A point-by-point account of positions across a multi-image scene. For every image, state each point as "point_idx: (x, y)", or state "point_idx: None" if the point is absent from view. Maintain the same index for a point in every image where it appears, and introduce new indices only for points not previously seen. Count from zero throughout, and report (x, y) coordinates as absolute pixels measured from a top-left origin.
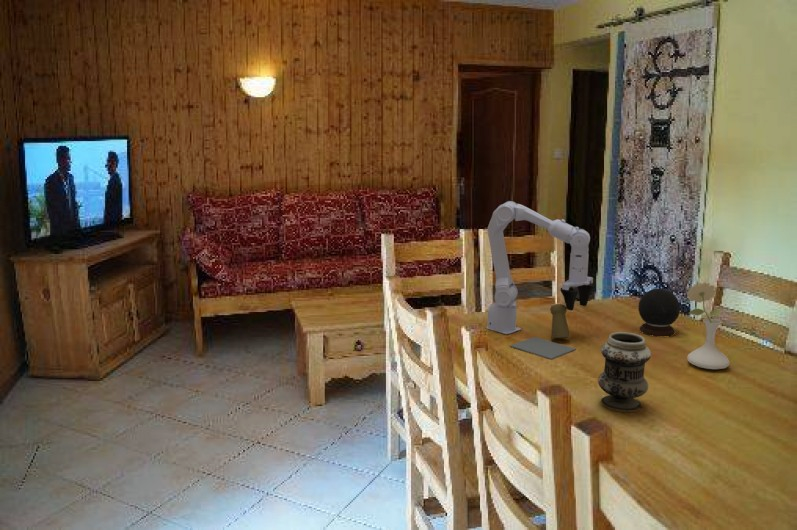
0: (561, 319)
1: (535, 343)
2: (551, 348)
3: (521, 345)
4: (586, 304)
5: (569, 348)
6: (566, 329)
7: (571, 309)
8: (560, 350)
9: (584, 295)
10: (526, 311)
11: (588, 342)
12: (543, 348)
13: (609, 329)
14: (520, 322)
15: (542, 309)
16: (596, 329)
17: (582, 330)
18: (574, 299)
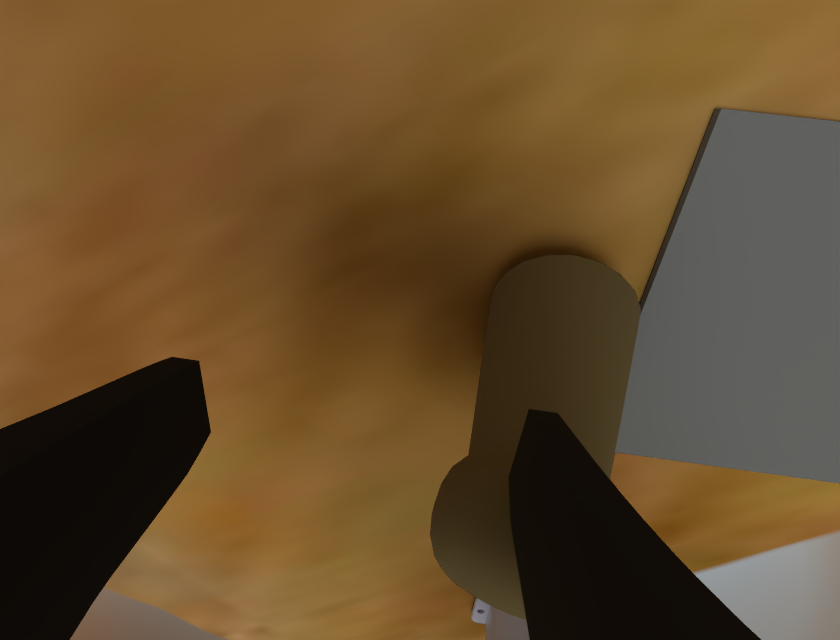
0: (602, 412)
1: (728, 395)
2: (802, 271)
3: (812, 438)
4: (161, 365)
5: (740, 158)
6: (581, 309)
7: (568, 427)
8: (829, 193)
9: (52, 530)
10: (214, 600)
11: (448, 122)
12: (827, 314)
13: (34, 149)
14: (379, 569)
15: (125, 569)
16: (126, 228)
17: (230, 293)
18: (640, 580)
